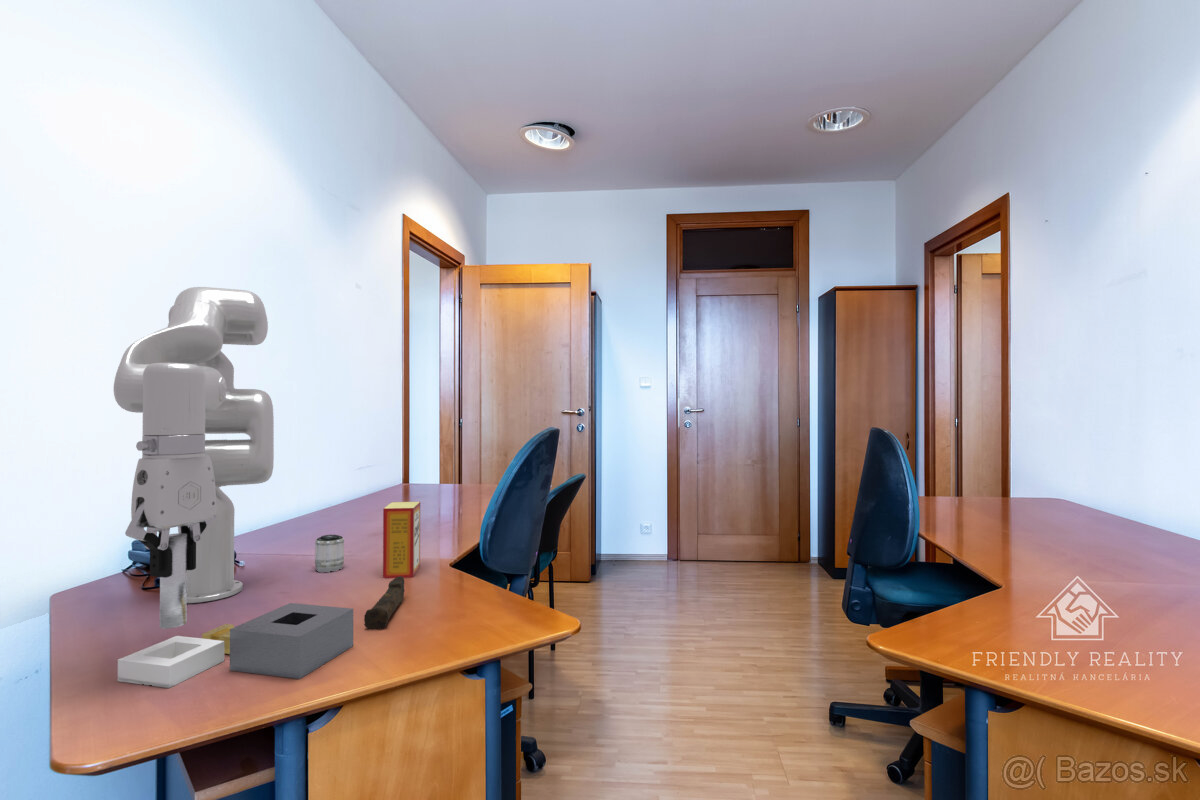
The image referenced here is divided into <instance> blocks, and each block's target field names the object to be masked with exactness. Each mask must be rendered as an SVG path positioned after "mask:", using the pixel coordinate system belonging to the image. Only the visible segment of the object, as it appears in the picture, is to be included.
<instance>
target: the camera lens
mask: <svg viewBox="0 0 1200 800" xmlns="http://www.w3.org/2000/svg"><path fill="white" fill-rule="evenodd" d="M314 546H315V547H314V550H315V551H314V564H315V569H316V570H317V571H318V573H322V572H328V573H331V572H330V571H335V572H337V571H336V570H339V569H341V568H342V569H343V568H344V567H343V566H344V562H345V538H344V537H343V536H341V535H339V534H326V535H325V534H324V535H321V536H320V537H317V539H315V541H314ZM342 569H341V570H342ZM317 571H316V572H317ZM339 571H340V570H339Z"/></svg>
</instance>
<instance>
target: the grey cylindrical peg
mask: <svg viewBox="0 0 1200 800" xmlns="http://www.w3.org/2000/svg"><path fill="white" fill-rule="evenodd" d="M167 549H171V550H172V574H171V576H170V577H166V578H164V577H159V628H160V629H164V630H168V629H174V628H175V629H176V628H179V627H182V626H184V625H187V622H188V621H187V617H188V616H187V612H188V611H187V609H188V608H187V607H188V606H187V604H188V603H187V534H186V533H177V532H176V533H169V541H168V547H167Z"/></svg>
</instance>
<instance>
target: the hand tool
mask: <svg viewBox="0 0 1200 800" xmlns="http://www.w3.org/2000/svg"><path fill="white" fill-rule="evenodd" d="M404 596H405V578H403V577H402V576H399V577H396V578H393V579H392V580H390V582H389V583H388V588H387V590H386V592H385V593H384V594H382V596H381V597H380V598H379V599H378V601H377V602H376V603H375V604H374V605H373V607H372V608H369V609H367V610H366V611H365V614H364V619H363V622H364V623H363V625H364V627H365V628H366V629H367V630H368V629H372V630H373V629H377V630H383V629H385V628H386V627H387V625H388V622H389V620H390V617H391V616H392V614H393V613H395V610H396V609H397V607H398V606H399V605H398V604H400V605H402V604H403V601H404Z"/></svg>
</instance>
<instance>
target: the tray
mask: <svg viewBox="0 0 1200 800" xmlns="http://www.w3.org/2000/svg"><path fill="white" fill-rule="evenodd" d="M224 661H225V654H224V641H220V640H211V639H202V637H190V636H182V635H175V636H173V637H171V638H168V639H167V638H166V639H165V640H164V641H163V640H162V641H160V642H159V643H156V644H153V645H151V646H148V647H145V648H143V649H141V650H137V651H136V652H133V653H131V654H128V655H125V656H123V657H120V658H119V659H117V682H121V683H129V684H135V685H142V684H144V685H143V686H149V685H152V687H157V688H158V687H159V688H166V689H170V688H172V687H174V686H176V685H179V684H181V683H182V682H185V681H186V680H189V679H190V678H192V677H194V676H196V675H199V674H201V673H203V672H205V671H206V670H208V669H211V668H213V667H215V666H217V665H219V664H221V663H223V662H224Z"/></svg>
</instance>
